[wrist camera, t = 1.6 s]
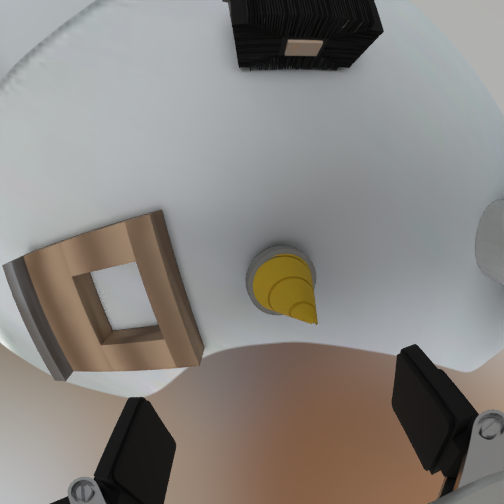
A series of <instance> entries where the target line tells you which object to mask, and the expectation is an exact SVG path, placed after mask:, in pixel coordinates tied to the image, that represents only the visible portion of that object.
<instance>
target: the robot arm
mask: <svg viewBox="0 0 504 504" xmlns="http://www.w3.org/2000/svg"><path fill="white" fill-rule="evenodd" d="M475 255H476V260H477V264H478V266H479V269H480V270H481V272H482V273H483V274H485V275H486V276H488V277H490V278H492V279H494V280H495V281H497V282H499V283H501V284H502V285H504V200H496V201H494V202H492V203H491V204H490V205H489V206H488V207H487V209H486V210H485V212H484V214H483V216H482V218H481V220H480V223H479V226H478V230H477V235H476V243H475ZM392 407H393V410H394V412H395V413H396V415H397V417H398V419H399V421H400V423H401V425H402V427H403V428H404V430H405V432H406V434H407V436H408V438H409V440H410V442H411V444H412V446H413V448H414V450H415V452H416V454H417V456H418V457H419V459H420V462H421V464H422V466H423V468H424V469H425V470H426V471H427V470H430V472H431V474H432V475H433V474H434V473H436V472H438V471H440V470H441V472H442V474H443V475H444V476H445V477H444V480H443V484H442V486H441V489H440V491H439V494H438V496H437V499H436V500H435V501H433V502H431V503H428V504H504V413H503V412H501V411H498V410H487V411H485V412H482V413H481V414H480V415H479V414H478V413H477V411H476V410H475V409H474V408H473V406H472V405H471V404H470V403H469V401H468V400H467V399H466V397H465V396H464V395H463V394H462V393H461V392H460V390H459V389H458V388H457V386H456V385H455V384H454V383H453V382H452V380H451V379H450V378H449V377H448V376H447V374H446V373H445V372H444V371H443V370H441V369H438V368H437V367H436V366H435V365H434V364H433V363H432V361H431V360H430V359H429V358H428V357H427V356H426V354H425V353H424V352H423V351H422V350H421V349H420V348H419V346H418V345H416V344H414V345H411V346H408V347H406V348H403V349H401V352H400V354H398V355H397V362H396V372H395V380H394V388H393V396H392ZM175 450H176V443H175V441H174V439H173V437H172V436H171V434H170V433H169V432H168V430H167V428H166V427H165V425H164V424H163V422H162V421H161V419H160V418H159V416H158V414H157V413H156V411H155V410H154V408H153V406H152V405H151V403H150V402H149V401H147V400H146V399H145V398H144V397H130V398H129V399H128V400H127V402H126V404H125V407H124V409H123V411H122V413H121V415H120V417H119V420H118V421H117V424H116V426H115V428H114V430H113V433H112V435H111V437H110V439H109V441H108V444H107V446H106V448H105V450H104V453H103V455H102V457H101V459H100V462H99V464H98V466H97V469H96V471H95V474H94V476H95V477H94V479H92V478H89V477H80V478H77V479H76V480H74V481H73V482H72V483H71V484H70V486H69V488H68V496H67V497H65V498H63V499H60V500H58V501H56V502H53V503H51V504H164V500H165V495H166V491H167V485H168V481H169V477H170V472H171V468H172V463H173V459H174V454H175Z"/></svg>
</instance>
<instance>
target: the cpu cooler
mask: <svg viewBox="0 0 504 504" xmlns="http://www.w3.org/2000/svg"><path fill="white" fill-rule="evenodd" d="M222 1H223V2H228V5H229V11H230V17H231V23H232V27H233V33H234V39H235V45H236V52H237V58H238V64H239V68H242V67H250V71H251V67H252V66H255V65H256V64H257V69H258V64H259V70H260V65H261V70H262V63H263V69H264V67H265V70H267V69H268V70H269V64H270V70H271V65H272V70H273V67H274V70H275V69H276V70H277V65H278V69H280V68H281V69H282V68H283V66H284V67H285V69H286V67H287V69H289V66H290V69H291V66H292V69H293V67H294V68H295V69H299V68H300V67H301V68H303V69H307V67H308V69H309V68H310V69H311V68H312V69H313V67H314V69H316V67H317V68H318V69H321V68H322V70H323V69H324V70H328V68H329V70H333V69H334V70H337V69H338V67H345V68H349V67H350V66H351V65H352V64H353V63H354V62H355V60H357V59H358V58H359V57H360V55H361V54H363V53H364V51H365V50H366V49H367V48H368V47H369V46H370V45H371V44H372V43H373V42H374V41H375V40H376V39H377V38H378V37H379V36H380V35H381V34H382V33H383V32H384V31H383V27H382V24H381V21H380V17H379V14H378V11H377V8H376V5H375V2H374V0H222Z"/></svg>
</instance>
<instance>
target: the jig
mask: <svg viewBox="0 0 504 504" xmlns="http://www.w3.org/2000/svg"><path fill="white" fill-rule="evenodd" d="M135 261H136V263H137V266H138V269H139V272H140V275H141V278H142V281H143V284H144V287H145V290H146V293H147V295H148V298H149V301H150V304H151V306H152V309H153V312H154V314H155V317H156V320H157V322H158V325H156V326H149V327H141V328H133V329H124V330H115V331H113V330H112V328H111V326H110V324H109V321H108V319H107V317H106V314H105V312H104V309H103V307H102V304H101V302H100V299H99V297H98V294H97V292H96V289H95V286H94V283H93V281H92V278H91V275H90V272H92V271H97V270H101V269H105V268H109V267H113V266H118V265H122V264H126V263H130V262H135ZM2 266H3V269H4V272H5V275H6V278H7V281H8V284H9V287H10V289H11V292H12V295H13V297H14V300H15V302H16V305H17V307H18V310H19V312H20V314H21V317H22V319H23V321H24V323H25V326H26V328H27V330H28V332H29V334H30V336H31V338H32V340H33V342H34V344H35V346H36V348H37V350H38V352H39V354H40V355H41V357H42V359H43V361H44V363H45V364H46V366H47V368H48V370H49V371H50V373H51V375H52V376H53V378H54V380H57V381H66V380H67V379H68V378H69V376H70V375H71V374H72V373H73V371H91V372H103V371H139V370H157V369H170V368H182V367H192V366H200V362H201V359H202V355H203V352H204V345H203V342H202V339H201V337H200V334H199V331H198V328H197V325H196V322H195V319H194V316H193V314H192V311H191V308H190V305H189V301H188V298H187V295H186V292H185V289H184V286H183V283H182V280H181V276H180V273H179V270H178V266H177V263H176V260H175V256H174V253H173V249H172V246H171V242H170V239H169V235H168V231H167V228H166V224H165V220H164V216H163V212H162V210H159V211H155V212H152V213H148V214H145V215H141V216H138V217H134V218H131V219H128V220H124V221H121V222H118V223H115V224H111V225H108V226H105V227H102V228H99V229H96V230H92V231H89V232H86V233H83V234H80V235H77V236H74V237H72V238H69V239H66V240H63V241H60V242H57V243H54V244H52V245H49V246H46V247H43V248H41V249H38V250H35V251H33V252H30V253H28V254H26V255H24V256H21V257H19V258H17V259H15V260H13V261H11V262H8V263H6V264H4V265H2Z"/></svg>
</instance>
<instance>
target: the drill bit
mask: <svg viewBox="0 0 504 504" xmlns="http://www.w3.org/2000/svg"><path fill="white" fill-rule="evenodd" d="M315 283H316V272H315V268H314V266H313V263H312V262H311V260H310V259H309V258H308V257H307V256H306V255H305V254H303V253H302V252H301V251H299V250H297V249H296V248H293V247H290V246H283V245H281V246H274V247H271V248H268V249H266V250H264V251H262V252H261V253H260V254H259V255H257V256H256V257H255V259H254V260H253V261H252V262H251V264H250V266H249V268H248V271H247V274H246V288H247V292H248V294H249V296H250V298H251V300H252V302H253V304H254V305H255V306H256V307H257V308H258V309H260V310H261V311H263V312H265V313H267V314H272V315H287V316H289V317H292V318H295V319H298V320H301V321H304V322H307V323H310V324H312V323H316V325H317V324H318V323H317V314H316V305H315V297H314V288H315Z"/></svg>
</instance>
